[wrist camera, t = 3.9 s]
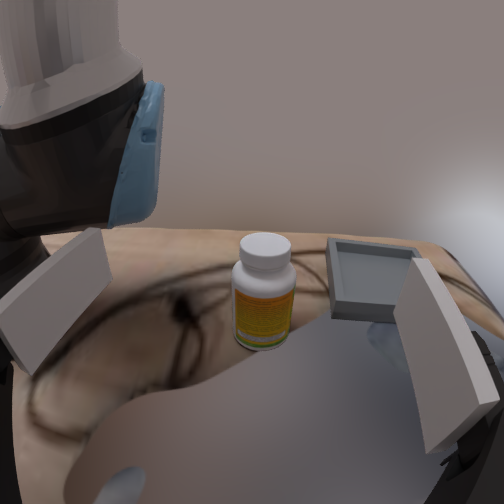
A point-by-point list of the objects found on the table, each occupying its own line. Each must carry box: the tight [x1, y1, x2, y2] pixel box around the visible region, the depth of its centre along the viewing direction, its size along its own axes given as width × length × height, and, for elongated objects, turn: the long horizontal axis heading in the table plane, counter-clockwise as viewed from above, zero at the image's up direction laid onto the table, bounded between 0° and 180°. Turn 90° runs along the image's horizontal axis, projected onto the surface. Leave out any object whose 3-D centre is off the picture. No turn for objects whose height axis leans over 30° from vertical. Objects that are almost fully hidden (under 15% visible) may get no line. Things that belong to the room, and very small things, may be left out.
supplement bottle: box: [231, 232, 296, 351], centre depth 24 cm, size 5×5×10 cm
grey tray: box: [325, 238, 423, 323], centre depth 33 cm, size 14×14×2 cm
